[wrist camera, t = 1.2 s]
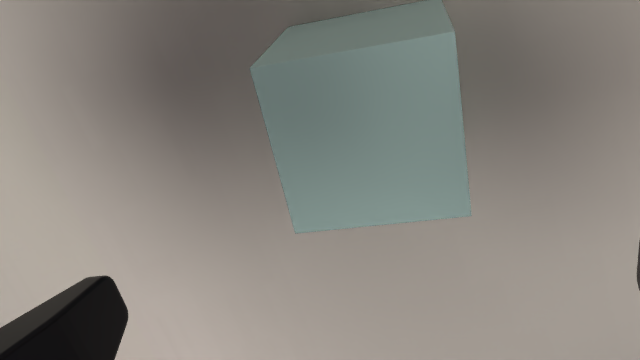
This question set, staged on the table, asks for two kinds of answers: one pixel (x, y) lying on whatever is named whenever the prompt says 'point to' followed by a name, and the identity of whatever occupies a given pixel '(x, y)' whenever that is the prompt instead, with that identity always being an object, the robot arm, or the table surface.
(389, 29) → the sage cube
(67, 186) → the table surface
